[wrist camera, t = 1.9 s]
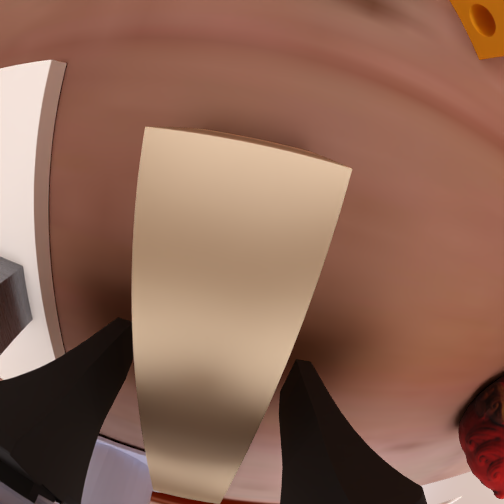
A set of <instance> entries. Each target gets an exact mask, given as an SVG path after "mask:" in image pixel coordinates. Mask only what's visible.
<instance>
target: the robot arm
mask: <svg viewBox="0 0 504 504" xmlns="http://www.w3.org/2000/svg"><path fill="white" fill-rule="evenodd" d="M132 360H133V333H132V322H131V321H128V320H125V319H122V318H119V317H118V318H117V319H115V320H114V321H112V322H111V323H110V324H108V325H107V326H105V327H104V328H103V329H101V330H100V331H99V332H97V333H96V334H94V335H93V336H92V337H90V338H89V339H87V340H86V341H84V342H83V343H81V344H80V345H78V346H77V347H75V348H74V349H72V350H70V351H69V352H67V353H66V354H64V355H62V356H61V357H59V358H57V359H55V360H53V361H52V362H50V363H48V364H46V365H44V366H41V367H39V368H37V369H35V370H32V371H30V372H27V373H24V374H22V375H19V376H16V377H13V378H10V379H6V380H2V381H0V504H149V503H150V498H151V494H152V491H154V490H153V487H152V482H151V478H150V473H149V468H148V463H147V458H146V453H145V452H143V451H140V450H137V449H134V448H131V447H128V446H125V445H122V444H119V443H117V442H114V441H111V440H108V439H106V438H103V437H101V436H98V435H99V432H100V429H101V427H102V424H103V422H104V420H105V418H106V416H107V414H108V412H109V410H110V408H111V406H112V404H113V402H114V400H115V398H116V396H117V394H118V392H119V391H120V389H121V387H122V385H123V383H124V381H125V379H126V376H127V373H128V371H129V368H130V365H131V363H132ZM279 422H280V436H281V449H282V466H283V470H282V488H281V500H280V504H427V502H426V499H425V495H424V492H423V488H422V487H421V486H420V485H418V484H416V483H415V482H413V481H412V480H410V479H408V478H407V477H405V476H404V475H402V474H401V473H399V472H398V471H397V470H395V469H394V468H393V467H391V466H390V465H389V464H388V463H387V462H385V461H384V460H383V459H382V458H381V457H380V456H379V455H378V454H377V453H375V452H374V451H373V450H372V449H371V448H370V447H369V446H368V445H367V444H366V443H365V442H364V440H363V439H362V438H361V437H360V436H359V435H358V434H357V432H356V431H355V430H354V429H353V428H352V426H351V425H350V424H349V422H348V421H347V420H346V418H345V417H344V416H343V414H342V413H341V411H340V410H339V408H338V407H337V405H336V404H335V402H334V400H333V399H332V397H331V396H330V394H329V392H328V391H327V389H326V387H325V386H324V384H323V382H322V380H321V379H320V377H319V375H318V373H317V372H316V370H315V368H314V366H313V365H312V363H311V362H309V361H303V360H295V363H294V365H293V367H292V369H291V371H290V373H289V375H288V377H287V379H286V381H285V383H284V385H283V387H282V389H281V391H280V403H279ZM155 492H158V491H155Z"/></svg>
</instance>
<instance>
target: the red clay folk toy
mask: <svg viewBox="0 0 504 504" xmlns="http://www.w3.org/2000/svg"><path fill="white" fill-rule="evenodd" d="M459 440H460V444H461V447H462V449H463V451H464V452H465V455H466V459H467V463H468V465H469V467H470V468H471V471H472V473H473V474H474V475H475V476H476V477H477V478H478V479H479V480H480V481H481V483H482V484H484V485H485V486H486V487H488V488H490V489H491V490H493V492H494V495H495V496H496V497H497V498H499V499H504V376H503V377H501V378H500V379H498V380H497V381H495V382H494V383H493V384H491V385H490V386H488V387H487V388H486V389H485V390H484V391H482V392H481V393H480V394H479V396H478V397H477V398H476V399H475V400H474V401H473V402H472V403H471V404H470V406H469V407H468V409H467V410H466V411H465V413H464V416H463V417H462V419H461V421H460V424H459Z"/></svg>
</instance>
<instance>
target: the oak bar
mask: <svg viewBox="0 0 504 504" xmlns="http://www.w3.org/2000/svg"><path fill="white" fill-rule="evenodd" d="M351 171H352V168H349V167H347V166H345V165H342V164H340V163H338V162H335V161H333V160H330V159H328V158H326V157H323V156H321V155H318V154H316V153H313V152H310V151H307V150H303V149H299V148H295V147H291V146H287V145H283V144H279V143H274V142H270V141H265V140H261V139H256V138H251V137H246V136H241V135H236V134H230V133H225V132H219V131H213V130H207V129H199V128H180V127H145V132H144V138H143V144H142V151H141V159H140V166H139V174H138V183H137V193H136V203H135V216H134V230H133V249H132V333H133V352H134V367H135V379H136V389H137V398H138V407H139V414H140V422H141V429H142V435H143V441H144V447H145V453H146V458H147V463H148V468H149V473H150V478H151V482H152V487H153V490H154V491H158V492H161V493H165V494H170V495H174V496H178V497H183V498H188V499H193V500H198V501H204V502H210V503H217V504H220V503H221V501H222V499H223V497H224V495H225V493H226V492H227V490H228V488H229V486H230V484H231V482H232V480H233V478H234V476H235V474H236V473H237V471H238V469H239V467H240V465H241V463H242V461H243V459H244V457H245V455H246V453H247V451H248V449H249V447H250V444H251V442H252V440H253V438H254V436H255V434H256V432H257V430H258V428H259V425H260V423H261V421H262V419H263V417H264V415H265V412H266V410H267V408H268V406H269V403H270V401H271V399H272V397H273V394H274V392H275V390H276V387H277V385H278V383H279V380H280V378H281V376H282V373H283V371H284V368H285V366H286V364H287V361H288V359H289V356H290V354H291V351H292V349H293V346H294V344H295V341H296V339H297V336H298V333H299V331H300V328H301V326H302V323H303V320H304V318H305V315H306V312H307V310H308V307H309V304H310V301H311V299H312V296H313V293H314V290H315V287H316V284H317V282H318V279H319V276H320V273H321V270H322V267H323V264H324V261H325V258H326V255H327V252H328V249H329V246H330V243H331V239H332V236H333V233H334V230H335V227H336V223H337V220H338V217H339V214H340V210H341V207H342V203H343V200H344V197H345V193H346V190H347V186H348V182H349V179H350V175H351Z"/></svg>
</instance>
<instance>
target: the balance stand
mask: <svg viewBox="0 0 504 504" xmlns="http://www.w3.org/2000/svg"><path fill="white" fill-rule="evenodd" d="M66 64H67V63H64V62H60V61H55V60H46V61H38V62H32V63H26V64H20V65H15V66H10V67H5V68H1V69H0V377H1V378H2V379H4V380H6V379H10V378H13V377H16V376H19V375H22V374H24V373H27V372H30V371H32V370H35V369H37V368H39V367H41V366H44V365H46V364H48V363H50V362H52V361H53V360H55V359H57V358H59V357H61V356H62V355H64V354H65V351H64V347H63V342H62V337H61V332H60V327H59V322H58V316H57V310H56V304H55V297H54V289H53V281H52V272H51V261H50V246H49V218H48V202H49V174H50V160H51V149H52V140H53V132H54V124H55V118H56V111H57V106H58V100H59V95H60V90H61V85H62V81H63V76H64V72H65V68H66Z"/></svg>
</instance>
